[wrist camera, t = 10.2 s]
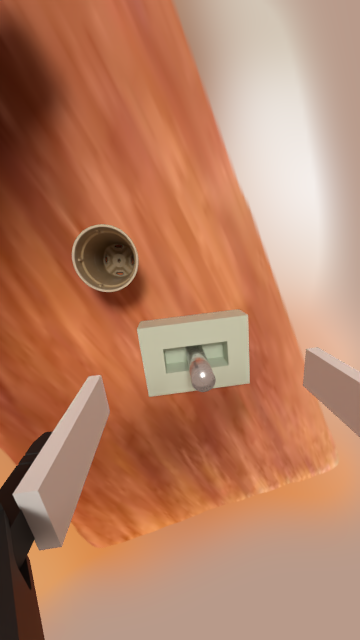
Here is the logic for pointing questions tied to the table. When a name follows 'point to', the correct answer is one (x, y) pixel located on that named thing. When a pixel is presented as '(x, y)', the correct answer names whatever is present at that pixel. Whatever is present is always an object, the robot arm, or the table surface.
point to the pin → (199, 368)
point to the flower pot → (92, 255)
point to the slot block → (201, 329)
